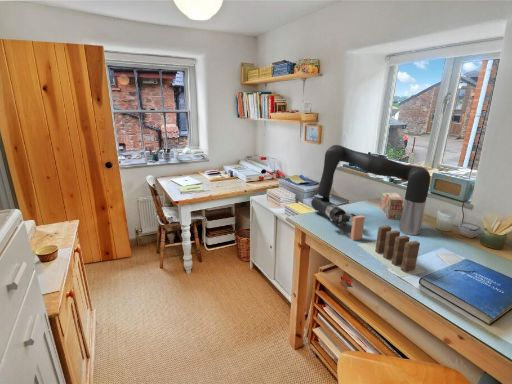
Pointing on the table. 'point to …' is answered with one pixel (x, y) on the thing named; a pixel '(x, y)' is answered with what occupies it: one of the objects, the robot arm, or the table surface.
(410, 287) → the table surface
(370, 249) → the domino mat
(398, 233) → the domino
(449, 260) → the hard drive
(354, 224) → the loose domino
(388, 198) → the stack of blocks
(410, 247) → the domino
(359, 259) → the table surface
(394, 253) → the domino
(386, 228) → the domino
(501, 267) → the table surface
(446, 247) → the table surface
